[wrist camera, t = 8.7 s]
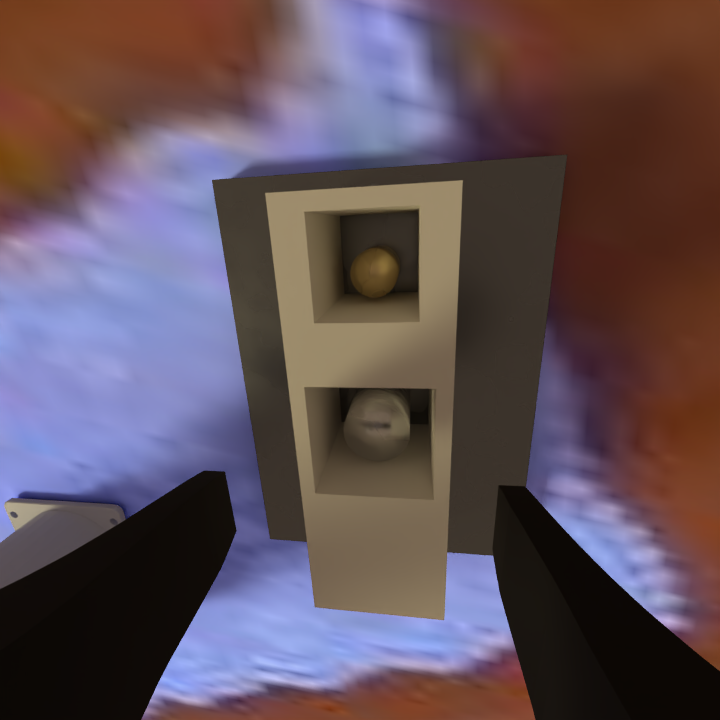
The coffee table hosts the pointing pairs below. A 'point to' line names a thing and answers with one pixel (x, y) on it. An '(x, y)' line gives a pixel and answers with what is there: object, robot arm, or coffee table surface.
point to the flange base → (400, 274)
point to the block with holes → (370, 370)
